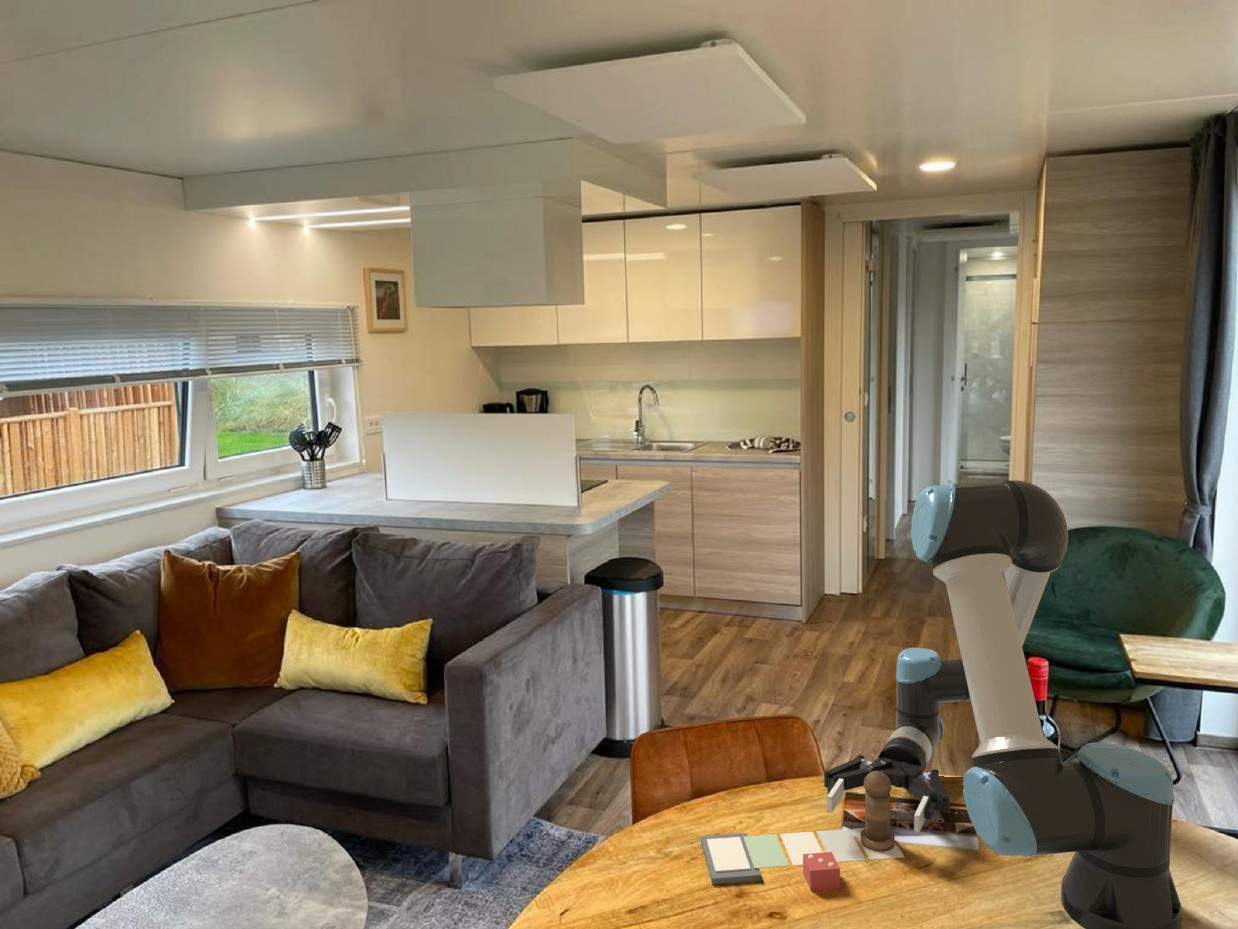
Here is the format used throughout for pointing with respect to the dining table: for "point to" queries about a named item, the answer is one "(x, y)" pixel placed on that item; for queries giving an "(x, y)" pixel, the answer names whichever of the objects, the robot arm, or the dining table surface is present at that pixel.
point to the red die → (821, 871)
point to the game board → (778, 852)
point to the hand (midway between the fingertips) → (871, 814)
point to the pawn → (877, 813)
